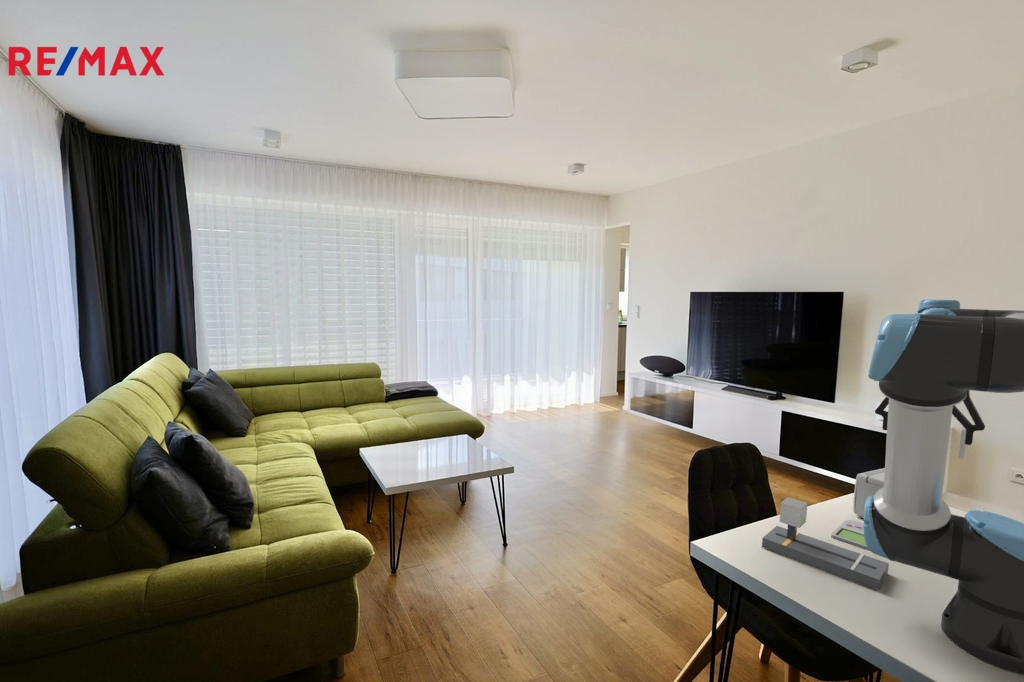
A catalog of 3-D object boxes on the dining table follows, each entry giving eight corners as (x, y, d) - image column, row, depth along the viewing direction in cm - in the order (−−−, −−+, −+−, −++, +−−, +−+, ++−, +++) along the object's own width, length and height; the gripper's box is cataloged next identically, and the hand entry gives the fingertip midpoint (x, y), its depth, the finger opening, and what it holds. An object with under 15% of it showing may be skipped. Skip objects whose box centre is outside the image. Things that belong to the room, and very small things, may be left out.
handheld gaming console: (890, 530, 132) (876, 548, 122) (890, 536, 132) (875, 554, 122) (847, 517, 139) (830, 533, 130) (847, 522, 140) (829, 538, 130)
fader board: (887, 573, 113) (888, 562, 113) (878, 590, 106) (879, 579, 106) (776, 534, 130) (776, 525, 130) (761, 547, 123) (762, 537, 123)
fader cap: (804, 538, 123) (807, 502, 122) (797, 544, 120) (801, 508, 119) (785, 531, 126) (788, 497, 125) (778, 537, 123) (781, 502, 122)
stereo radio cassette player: (891, 504, 152) (897, 441, 150) (922, 515, 145) (929, 449, 143) (850, 515, 143) (856, 449, 141) (881, 528, 136) (888, 458, 134)
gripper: (1007, 369, 111) (996, 460, 113) (873, 357, 129) (865, 435, 131) (1005, 372, 105) (994, 467, 107) (866, 359, 124) (858, 440, 126)
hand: (923, 450), depth 119 cm, fingers open, 13 cm apart
